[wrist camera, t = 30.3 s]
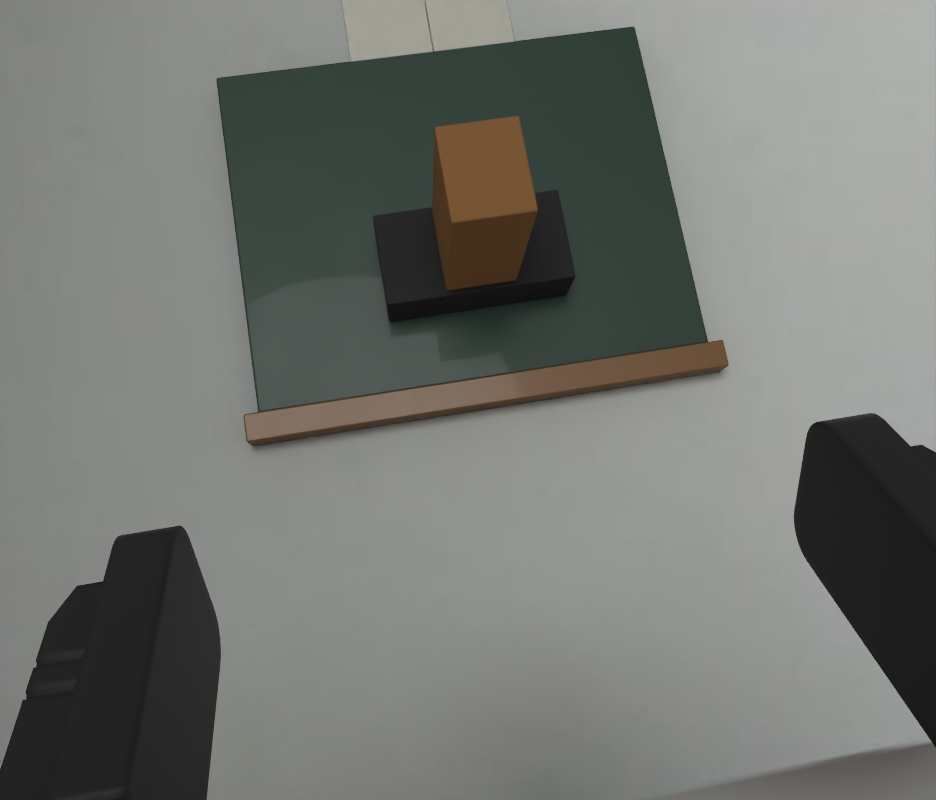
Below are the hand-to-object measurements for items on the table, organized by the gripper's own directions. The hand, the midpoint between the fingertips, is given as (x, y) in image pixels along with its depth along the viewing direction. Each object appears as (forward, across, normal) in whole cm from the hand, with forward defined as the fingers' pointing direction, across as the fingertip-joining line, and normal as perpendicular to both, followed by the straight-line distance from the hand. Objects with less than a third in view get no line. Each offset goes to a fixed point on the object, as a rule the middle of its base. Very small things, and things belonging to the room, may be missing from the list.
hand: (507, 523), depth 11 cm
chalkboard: (+30, -3, +8) cm, 31 cm away
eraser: (+27, -3, +9) cm, 29 cm away
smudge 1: (+37, -1, +1) cm, 37 cm away
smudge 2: (+37, -5, +1) cm, 38 cm away
